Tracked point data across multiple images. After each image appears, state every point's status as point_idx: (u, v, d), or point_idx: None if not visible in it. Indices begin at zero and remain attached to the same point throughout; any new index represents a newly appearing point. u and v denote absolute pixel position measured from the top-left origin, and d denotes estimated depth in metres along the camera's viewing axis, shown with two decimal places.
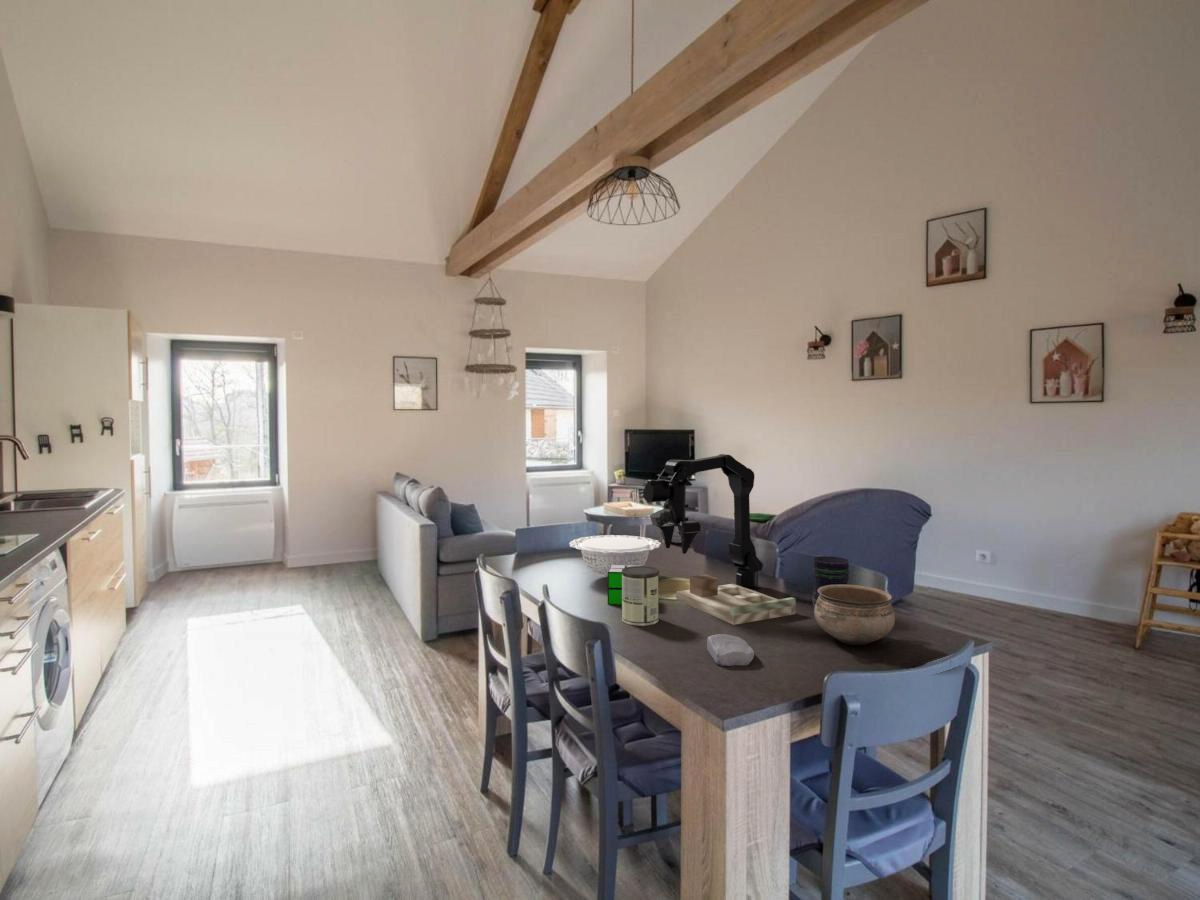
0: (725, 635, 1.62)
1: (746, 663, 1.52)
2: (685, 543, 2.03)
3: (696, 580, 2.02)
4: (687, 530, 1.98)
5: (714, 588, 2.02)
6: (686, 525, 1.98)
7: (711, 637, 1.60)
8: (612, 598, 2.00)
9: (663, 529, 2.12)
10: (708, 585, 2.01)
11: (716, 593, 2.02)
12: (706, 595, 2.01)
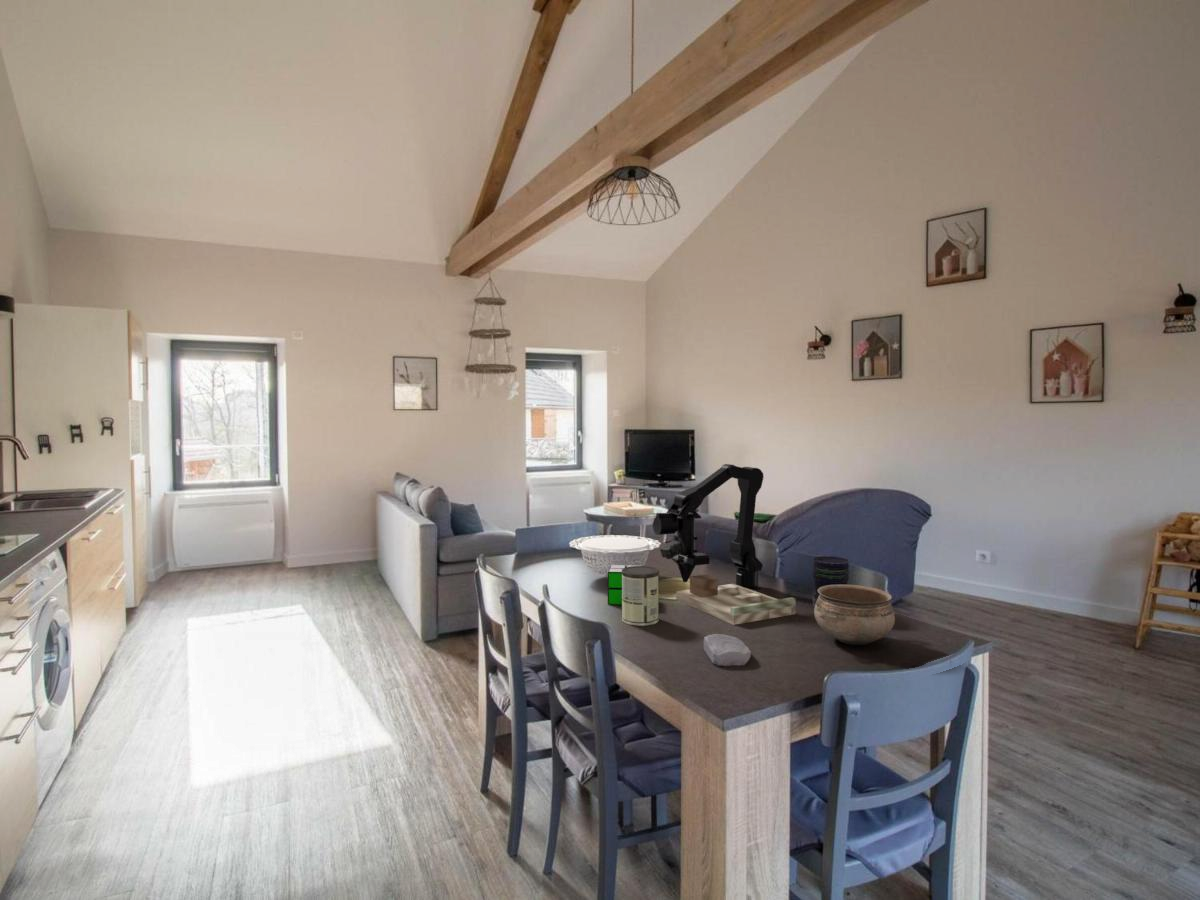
0: (722, 635, 1.61)
1: (743, 663, 1.52)
2: (686, 572, 2.11)
3: (696, 580, 2.02)
4: (696, 563, 2.03)
5: (714, 588, 2.02)
6: (695, 558, 2.03)
7: (708, 637, 1.60)
8: (612, 598, 2.00)
9: (680, 563, 2.12)
10: (708, 585, 2.01)
11: (716, 593, 2.02)
12: (706, 595, 2.01)
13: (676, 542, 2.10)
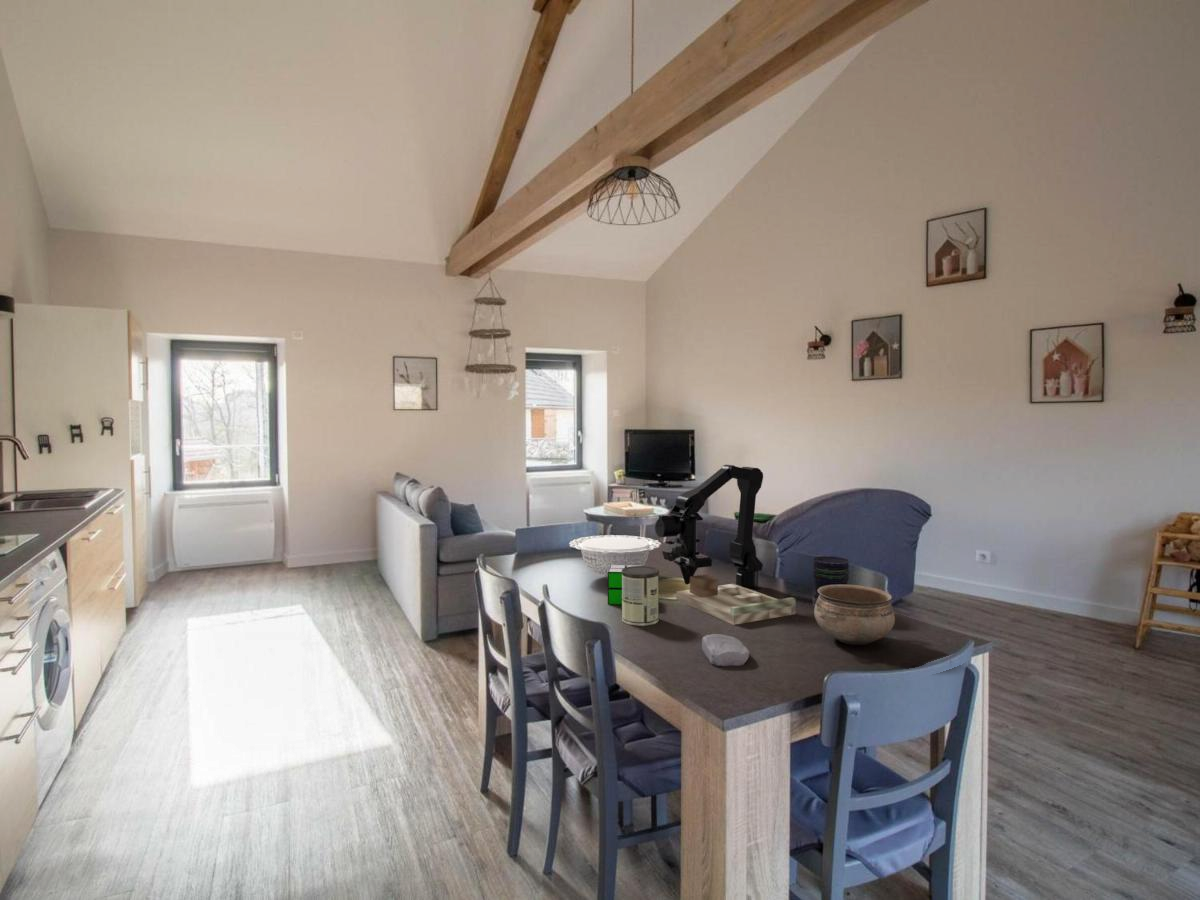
0: (720, 635, 1.61)
1: (741, 663, 1.52)
2: (688, 574, 2.10)
3: (696, 580, 2.02)
4: (698, 565, 2.02)
5: (714, 588, 2.02)
6: (697, 560, 2.02)
7: (706, 637, 1.60)
8: (612, 598, 2.00)
9: None
10: (708, 585, 2.01)
11: (716, 593, 2.02)
12: (706, 595, 2.01)
13: (678, 544, 2.09)
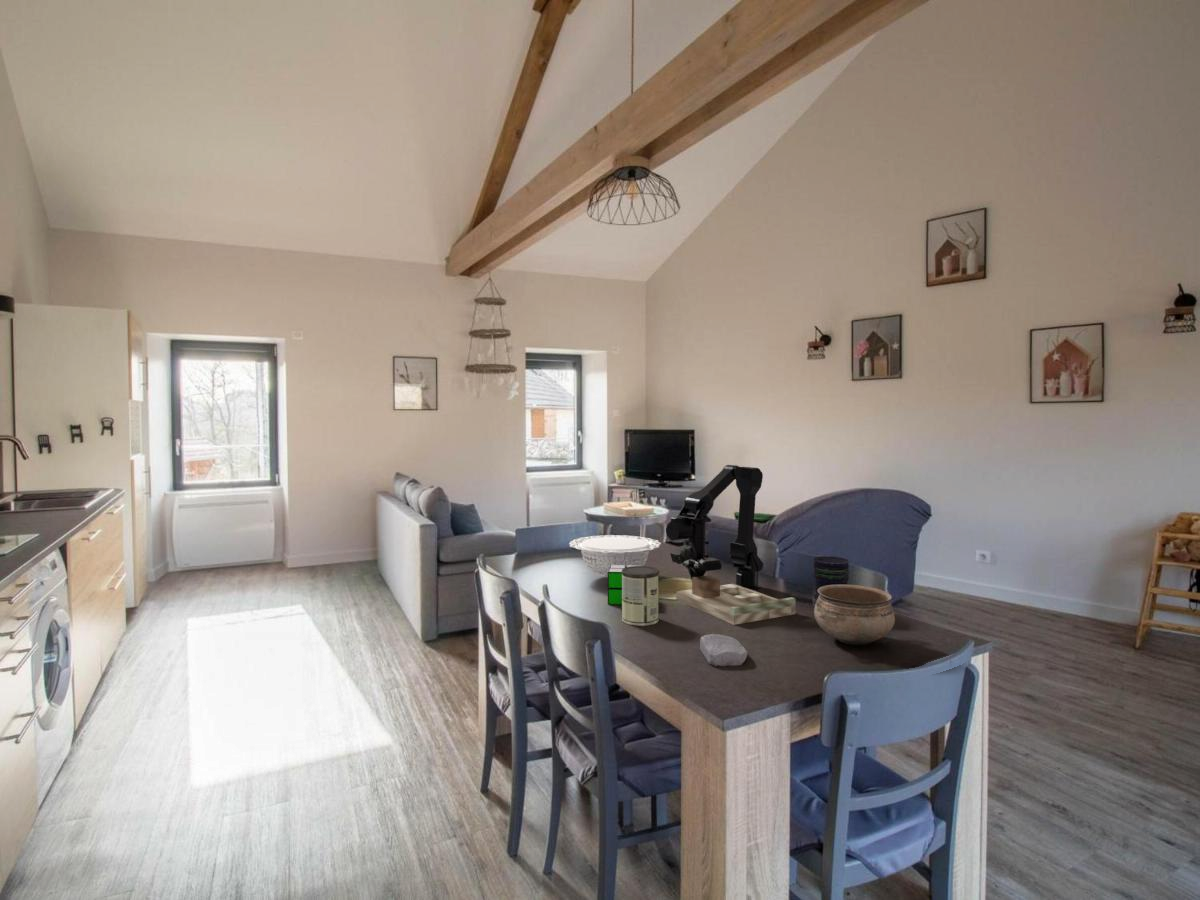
0: (718, 635, 1.61)
1: (739, 663, 1.52)
2: None
3: (698, 581, 2.01)
4: (708, 568, 1.98)
5: (716, 589, 2.01)
6: (707, 563, 1.98)
7: (704, 637, 1.60)
8: (612, 598, 2.00)
9: (691, 568, 2.07)
10: (710, 586, 2.00)
11: (718, 594, 2.01)
12: (708, 596, 1.99)
13: (687, 546, 2.04)
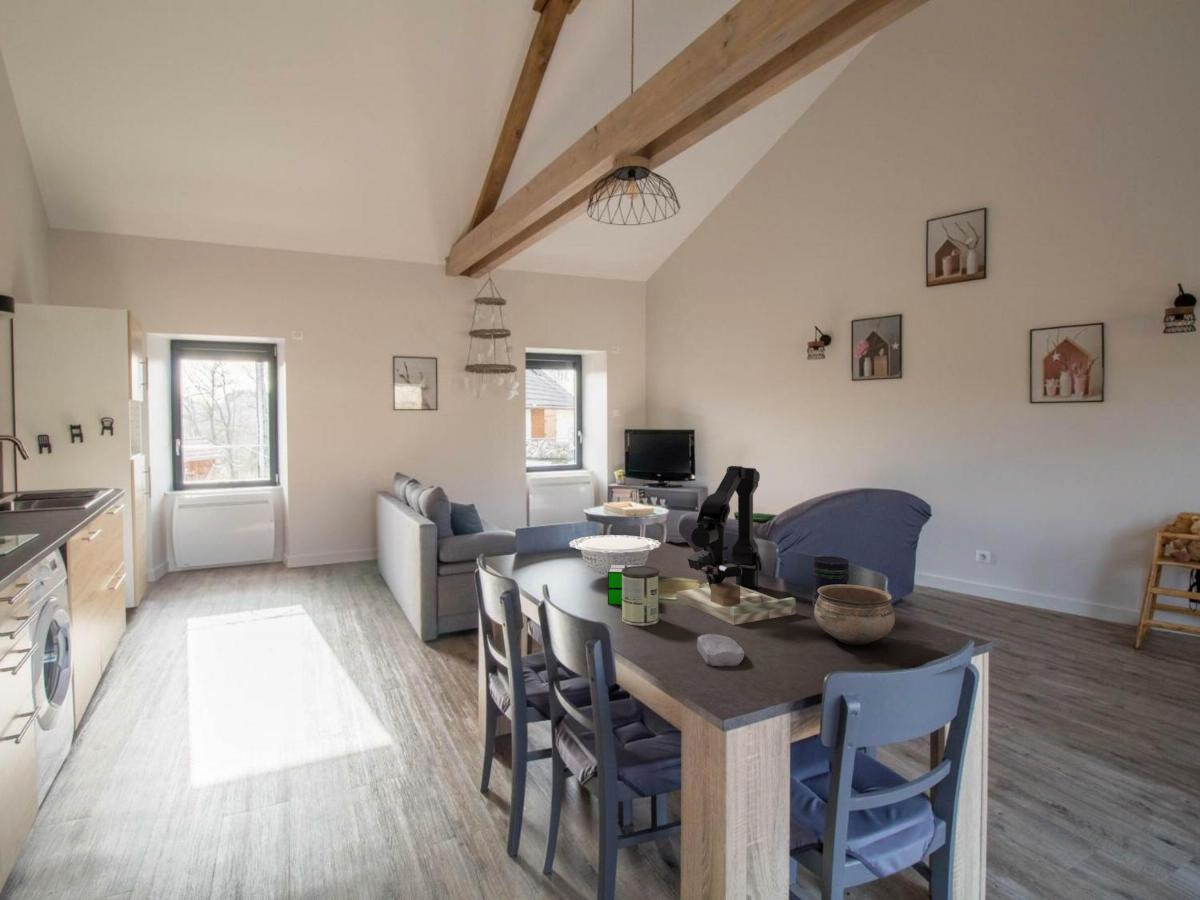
0: (715, 635, 1.61)
1: (736, 663, 1.52)
2: None
3: (717, 588, 1.92)
4: (727, 575, 1.89)
5: (736, 597, 1.92)
6: (726, 570, 1.89)
7: (701, 637, 1.60)
8: (612, 598, 2.00)
9: (709, 574, 1.99)
10: (730, 593, 1.91)
11: (738, 602, 1.93)
12: (728, 604, 1.91)
13: (705, 552, 1.96)
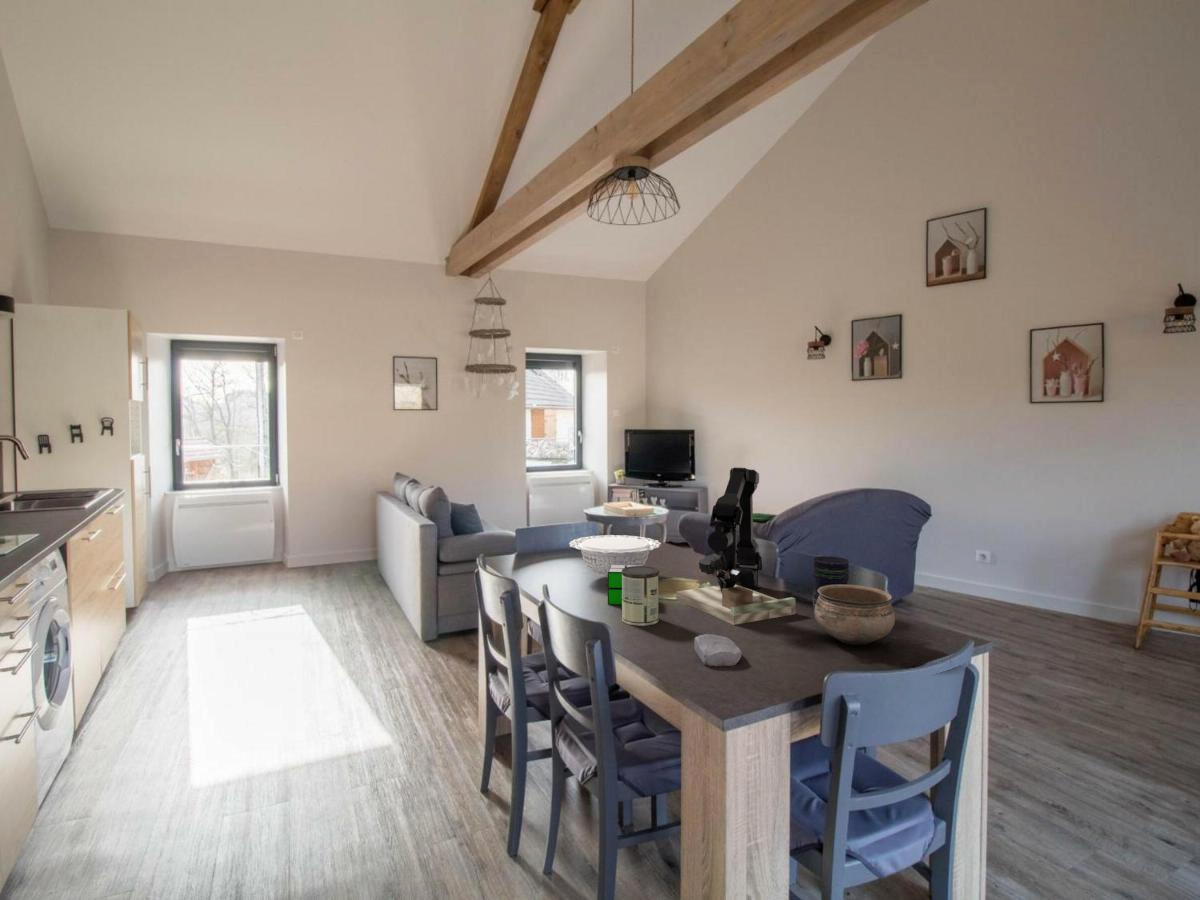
0: (712, 635, 1.61)
1: (733, 663, 1.52)
2: None
3: (729, 593, 1.88)
4: (740, 579, 1.84)
5: (748, 602, 1.88)
6: (739, 574, 1.84)
7: (698, 637, 1.60)
8: (612, 598, 2.00)
9: None
10: (742, 598, 1.86)
11: None
12: None
13: (716, 556, 1.91)
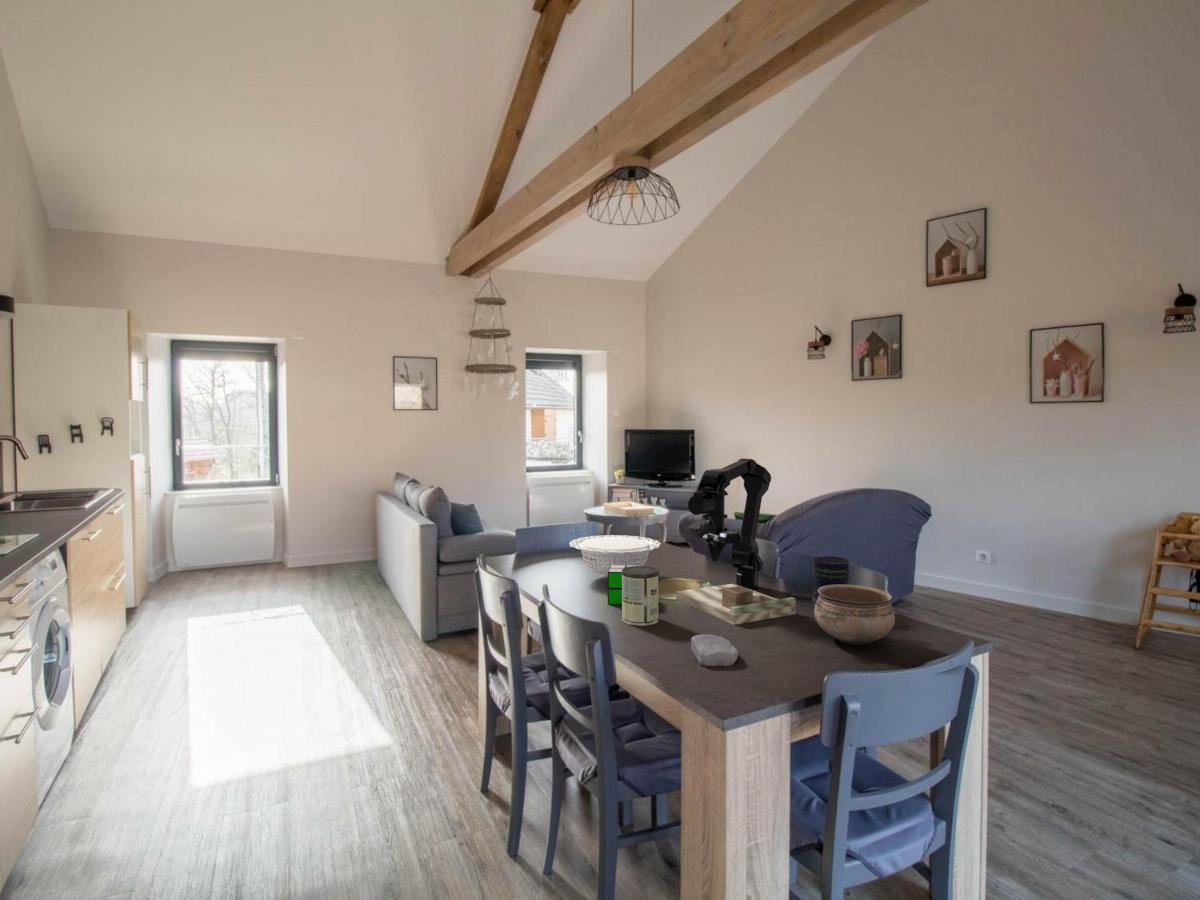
0: (709, 635, 1.61)
1: (730, 663, 1.52)
2: (716, 551, 2.06)
3: (729, 593, 1.88)
4: (728, 541, 1.97)
5: (748, 602, 1.87)
6: (727, 536, 1.97)
7: (695, 637, 1.60)
8: (612, 598, 2.00)
9: (710, 542, 2.07)
10: (742, 598, 1.86)
11: None
12: None
13: (706, 520, 2.04)
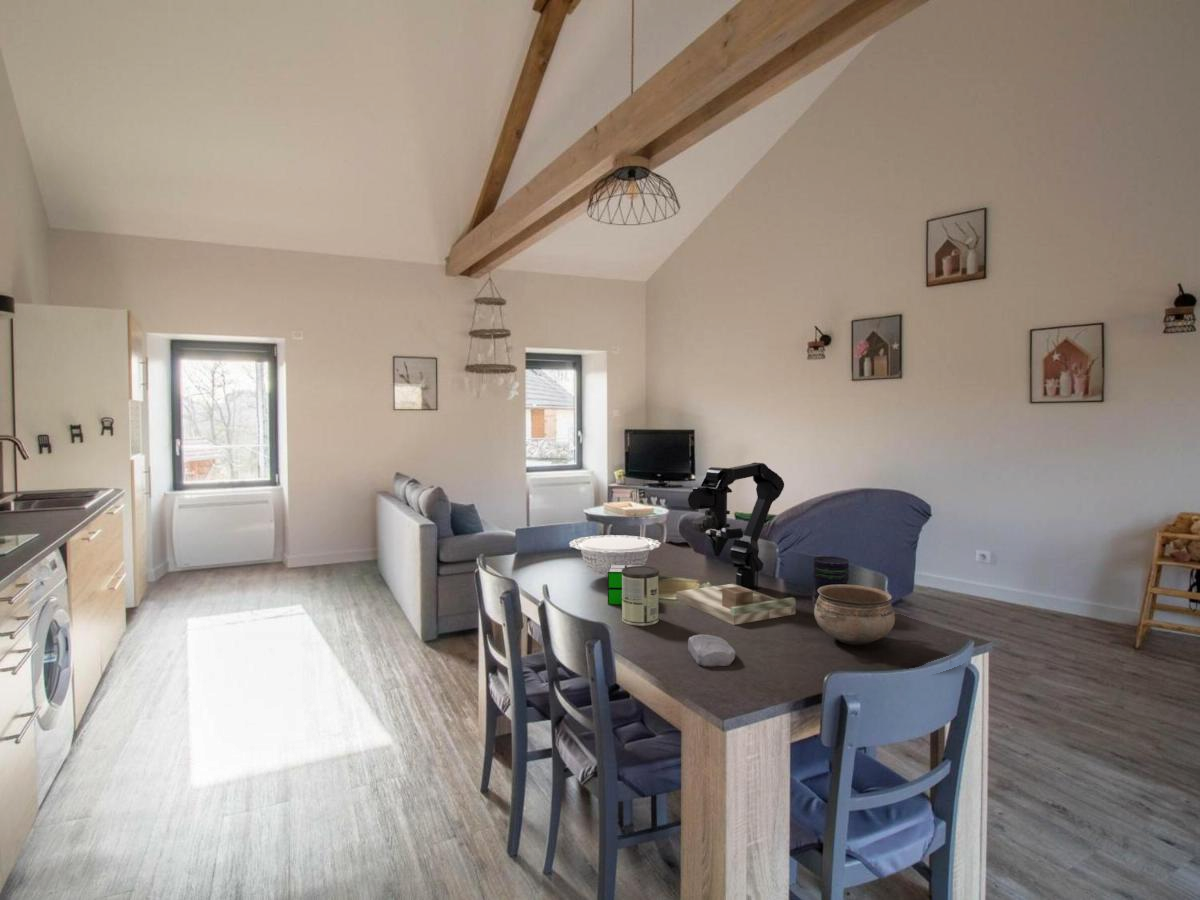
0: (706, 635, 1.61)
1: (727, 663, 1.52)
2: (718, 546, 2.12)
3: (729, 593, 1.88)
4: (730, 536, 2.03)
5: (748, 602, 1.87)
6: (729, 531, 2.03)
7: (692, 638, 1.60)
8: (612, 598, 2.00)
9: (712, 537, 2.13)
10: (742, 598, 1.86)
11: None
12: None
13: (709, 516, 2.10)
